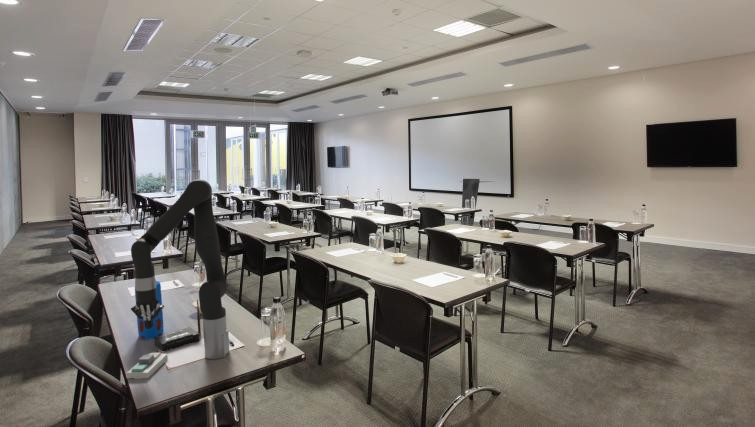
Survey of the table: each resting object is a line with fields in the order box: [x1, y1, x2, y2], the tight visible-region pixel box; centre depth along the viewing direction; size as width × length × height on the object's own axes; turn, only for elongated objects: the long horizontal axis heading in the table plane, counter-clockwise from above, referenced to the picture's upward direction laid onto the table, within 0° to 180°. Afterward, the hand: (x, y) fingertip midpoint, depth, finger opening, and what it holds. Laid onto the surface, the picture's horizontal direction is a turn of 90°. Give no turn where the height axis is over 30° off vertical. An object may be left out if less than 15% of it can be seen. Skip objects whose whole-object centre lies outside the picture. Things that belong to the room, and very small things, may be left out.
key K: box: [147, 352, 161, 360], centre depth 178 cm, size 4×4×3 cm
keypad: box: [126, 353, 169, 380], centre depth 173 cm, size 8×16×2 cm, turn 1°
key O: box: [131, 363, 148, 372], centre depth 168 cm, size 4×4×3 cm
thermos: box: [134, 280, 164, 340], centre depth 205 cm, size 11×11×25 cm
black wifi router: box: [153, 299, 202, 352], centre depth 197 cm, size 20×14×17 cm
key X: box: [138, 354, 154, 366], centre depth 172 cm, size 4×4×3 cm
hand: (149, 328), depth 177 cm, fingers closed
